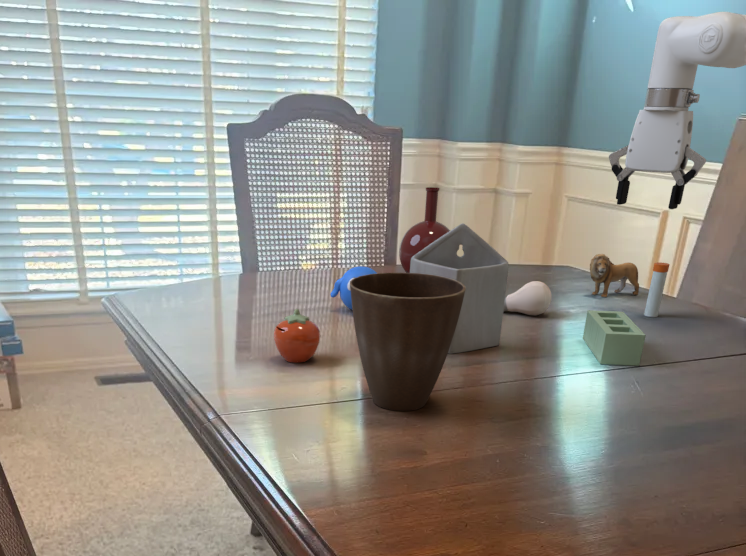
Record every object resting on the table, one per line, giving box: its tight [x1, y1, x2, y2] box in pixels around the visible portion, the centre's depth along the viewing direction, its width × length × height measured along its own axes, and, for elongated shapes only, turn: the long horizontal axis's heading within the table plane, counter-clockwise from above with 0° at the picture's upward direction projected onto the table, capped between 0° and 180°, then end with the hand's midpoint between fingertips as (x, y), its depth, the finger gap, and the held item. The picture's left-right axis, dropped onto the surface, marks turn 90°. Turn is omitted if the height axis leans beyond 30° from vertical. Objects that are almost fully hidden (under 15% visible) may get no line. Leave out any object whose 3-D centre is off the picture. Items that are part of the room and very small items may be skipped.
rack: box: [582, 309, 647, 367], centre depth 130 cm, size 16×6×5 cm, turn 175°
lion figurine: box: [589, 253, 640, 298], centre depth 169 cm, size 15×5×9 cm, turn 117°
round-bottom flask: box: [398, 186, 451, 273], centre depth 174 cm, size 13×13×20 cm
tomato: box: [273, 308, 321, 364], centre depth 122 cm, size 7×7×8 cm
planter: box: [410, 223, 510, 355], centre depth 127 cm, size 16×8×19 cm, turn 80°
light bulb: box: [503, 280, 553, 316], centre depth 153 cm, size 7×7×11 cm
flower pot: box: [350, 272, 466, 412], centre depth 103 cm, size 15×15×16 cm
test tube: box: [643, 261, 670, 318], centre depth 152 cm, size 3×3×10 cm
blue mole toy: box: [330, 265, 378, 311], centre depth 150 cm, size 12×12×8 cm
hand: (646, 206), depth 144 cm, fingers open, 9 cm apart
